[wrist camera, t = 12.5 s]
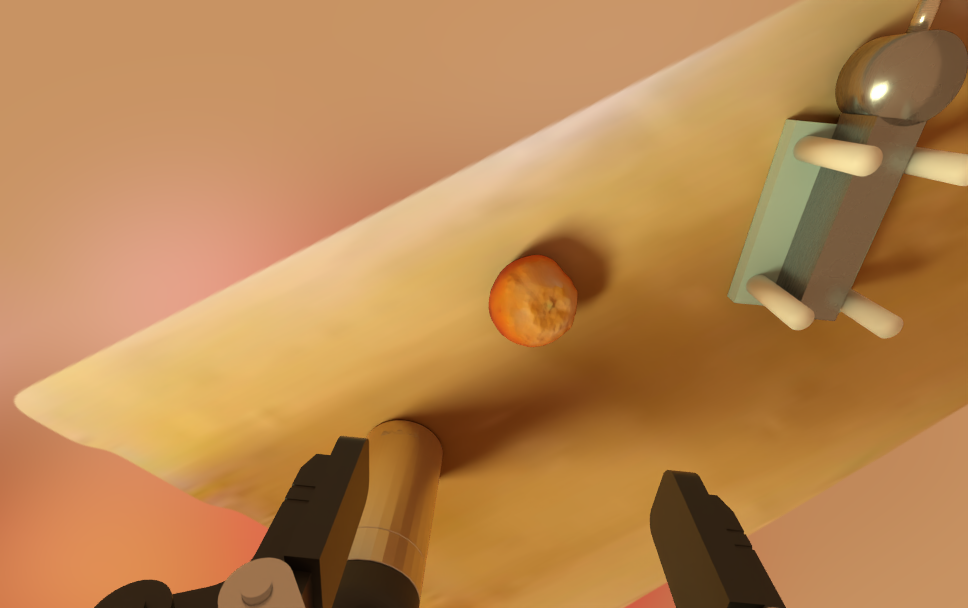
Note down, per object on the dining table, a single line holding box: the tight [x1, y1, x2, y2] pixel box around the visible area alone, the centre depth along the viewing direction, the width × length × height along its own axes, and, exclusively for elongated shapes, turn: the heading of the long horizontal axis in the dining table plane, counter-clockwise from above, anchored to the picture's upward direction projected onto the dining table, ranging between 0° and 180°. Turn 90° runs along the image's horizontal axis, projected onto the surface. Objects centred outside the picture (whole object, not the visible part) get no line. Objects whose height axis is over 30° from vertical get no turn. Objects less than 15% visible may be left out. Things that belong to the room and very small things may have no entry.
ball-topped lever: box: [776, 0, 968, 321], centre depth 37 cm, size 24×6×4 cm, turn 175°
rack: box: [728, 119, 968, 338], centre depth 38 cm, size 16×10×8 cm, turn 175°
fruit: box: [489, 255, 578, 347], centre depth 43 cm, size 8×8×8 cm
